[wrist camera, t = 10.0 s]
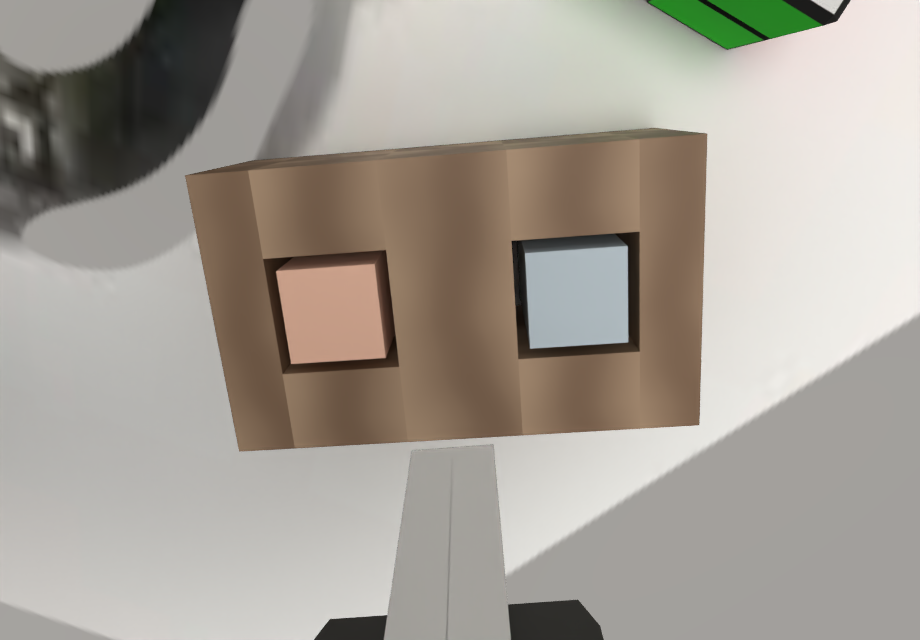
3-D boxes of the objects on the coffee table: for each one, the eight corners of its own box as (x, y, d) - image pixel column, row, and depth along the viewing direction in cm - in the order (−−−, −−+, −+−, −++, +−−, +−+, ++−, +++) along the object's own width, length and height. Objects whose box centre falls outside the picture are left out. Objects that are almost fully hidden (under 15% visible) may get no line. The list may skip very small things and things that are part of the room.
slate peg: (520, 299, 35) (530, 348, 28) (516, 222, 34) (525, 253, 27) (598, 294, 35) (628, 342, 28) (596, 216, 34) (627, 245, 26)
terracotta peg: (329, 312, 36) (291, 364, 28) (318, 237, 34) (276, 270, 27) (405, 307, 35) (385, 357, 28) (396, 231, 34) (374, 264, 27)
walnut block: (288, 381, 37) (239, 451, 30) (252, 160, 34) (185, 175, 26) (653, 358, 36) (699, 425, 29) (654, 127, 33) (707, 133, 25)
